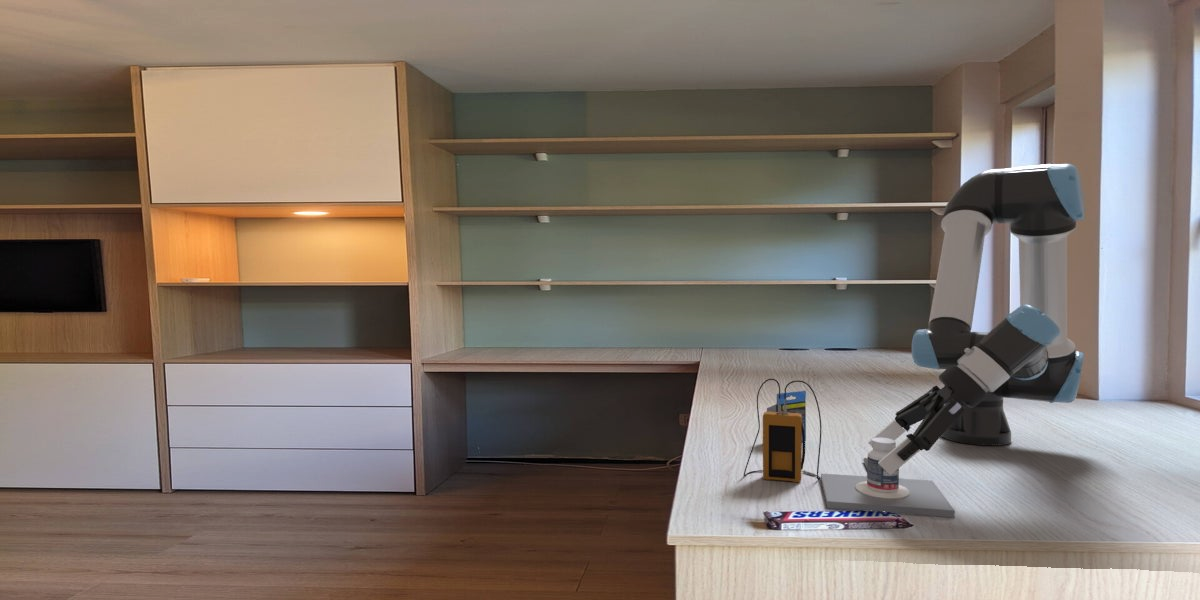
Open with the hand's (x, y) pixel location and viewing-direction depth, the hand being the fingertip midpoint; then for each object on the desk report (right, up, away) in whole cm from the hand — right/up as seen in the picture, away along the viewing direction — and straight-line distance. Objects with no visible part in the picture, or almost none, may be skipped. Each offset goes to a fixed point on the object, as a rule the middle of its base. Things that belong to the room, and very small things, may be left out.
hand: (878, 458), depth 121 cm
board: (+2, -7, +7) cm, 10 cm away
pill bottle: (+1, -6, 0) cm, 6 cm away
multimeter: (-13, -7, +14) cm, 20 cm away
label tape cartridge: (-6, -5, +39) cm, 40 cm away
